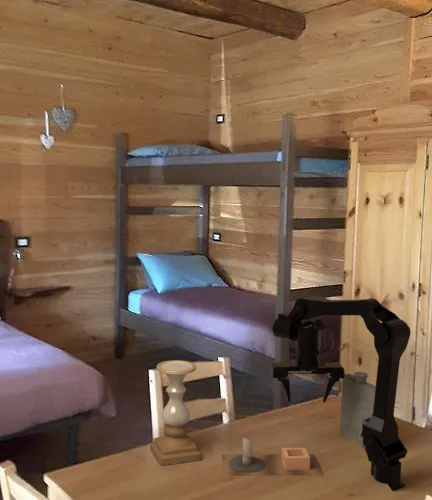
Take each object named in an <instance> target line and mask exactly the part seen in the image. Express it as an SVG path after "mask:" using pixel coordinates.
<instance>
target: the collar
mask: <svg viewBox="0 0 432 500" xmlns="http://www.w3.org/2000/svg"><path fill="white" fill-rule="evenodd" d="M281 454H282V457H281V459H282V462H283V465H284V468H285V470H309V469H310V457H309V455H308V454H309V453H308V451H307V449H306V447H281Z"/></svg>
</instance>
